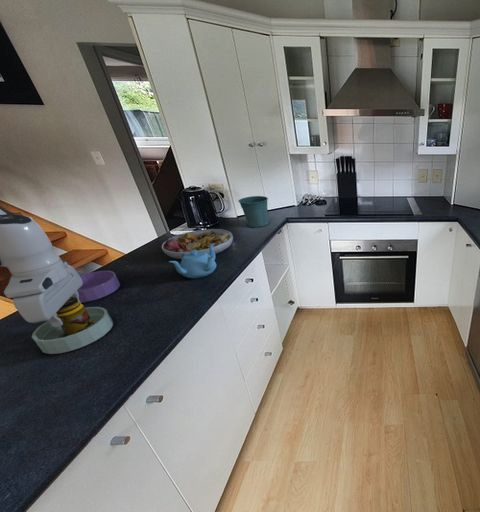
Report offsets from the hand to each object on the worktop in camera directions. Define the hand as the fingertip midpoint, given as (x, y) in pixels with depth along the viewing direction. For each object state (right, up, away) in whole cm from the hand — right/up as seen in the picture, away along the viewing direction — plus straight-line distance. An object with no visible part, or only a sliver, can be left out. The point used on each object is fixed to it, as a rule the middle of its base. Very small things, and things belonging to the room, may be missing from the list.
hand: (68, 315), depth 79 cm
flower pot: (+12, +37, +93) cm, 101 cm away
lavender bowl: (-18, +4, +23) cm, 30 cm away
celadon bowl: (0, -7, +3) cm, 8 cm away
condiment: (0, -7, +3) cm, 8 cm away
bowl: (-1, +21, +59) cm, 63 cm away
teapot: (+13, +10, +38) cm, 42 cm away
